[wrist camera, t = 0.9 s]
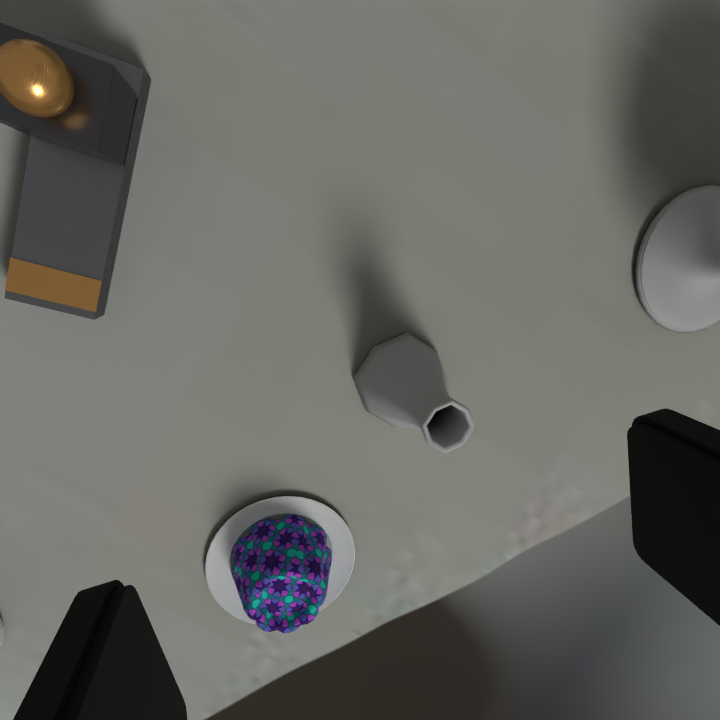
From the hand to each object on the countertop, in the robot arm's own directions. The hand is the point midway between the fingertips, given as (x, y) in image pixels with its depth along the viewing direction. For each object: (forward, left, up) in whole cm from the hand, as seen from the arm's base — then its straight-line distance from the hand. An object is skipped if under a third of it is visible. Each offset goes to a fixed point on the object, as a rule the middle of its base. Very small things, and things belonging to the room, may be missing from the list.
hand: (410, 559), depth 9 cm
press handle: (-8, -15, -25) cm, 30 cm away
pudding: (+20, +4, -28) cm, 34 cm away
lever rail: (-4, -15, -27) cm, 31 cm away
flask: (+3, +9, -28) cm, 29 cm away
